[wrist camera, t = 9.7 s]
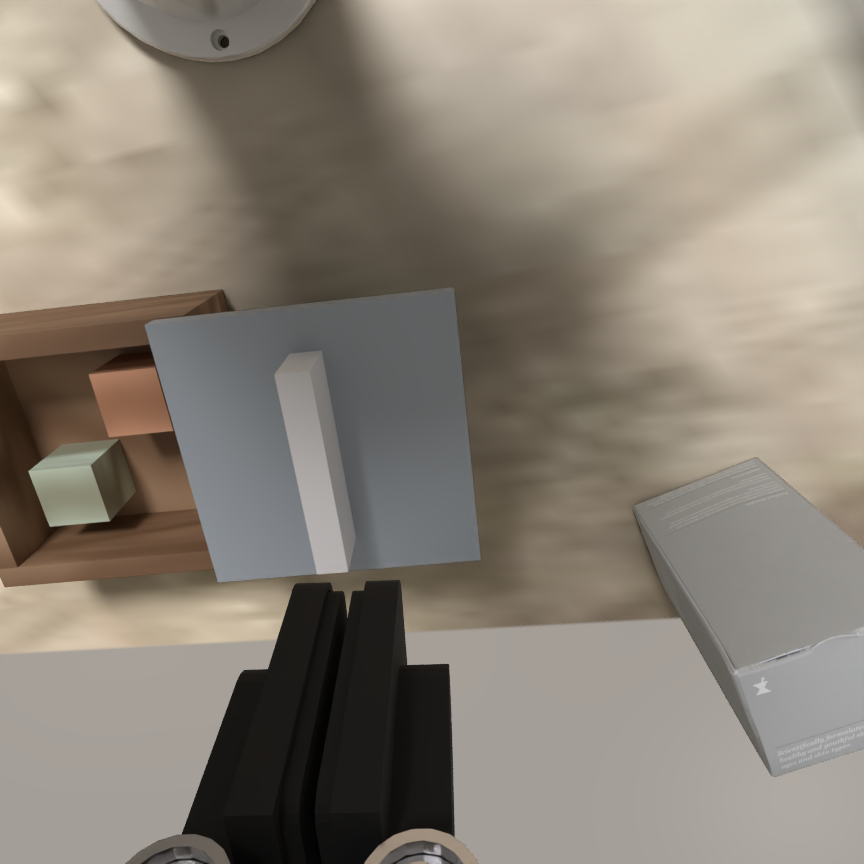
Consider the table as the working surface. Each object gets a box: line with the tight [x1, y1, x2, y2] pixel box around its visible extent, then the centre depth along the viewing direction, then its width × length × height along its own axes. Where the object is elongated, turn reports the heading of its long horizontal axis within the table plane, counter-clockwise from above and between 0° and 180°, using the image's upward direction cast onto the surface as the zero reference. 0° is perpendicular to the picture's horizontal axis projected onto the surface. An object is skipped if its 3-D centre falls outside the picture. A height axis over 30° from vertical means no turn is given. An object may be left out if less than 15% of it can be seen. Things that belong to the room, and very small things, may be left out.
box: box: [0, 290, 228, 587], centre depth 37 cm, size 14×14×6 cm
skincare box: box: [633, 458, 864, 777], centre depth 35 cm, size 8×7×16 cm
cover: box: [145, 287, 481, 582], centre depth 32 cm, size 14×14×4 cm
